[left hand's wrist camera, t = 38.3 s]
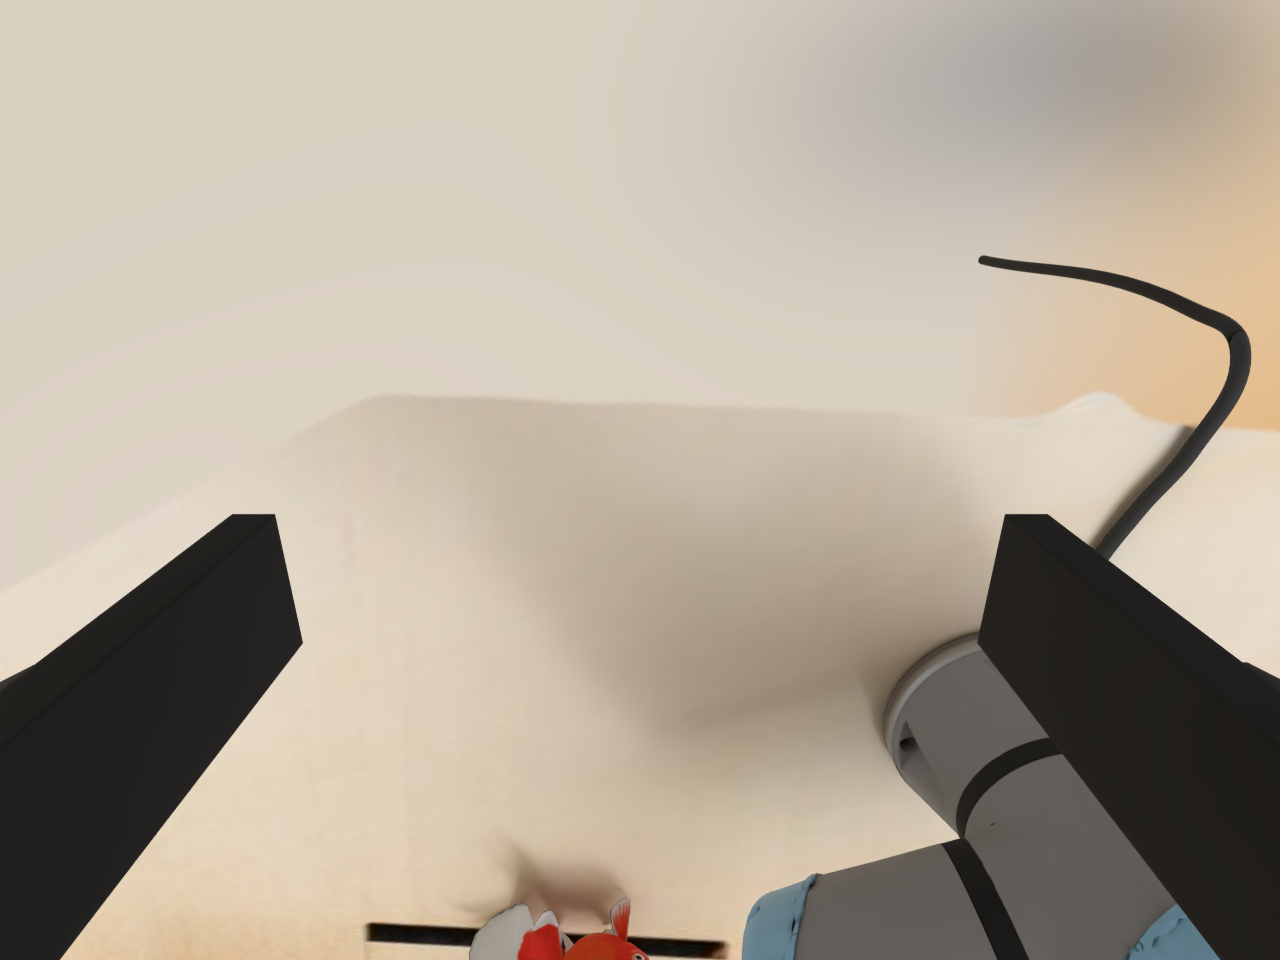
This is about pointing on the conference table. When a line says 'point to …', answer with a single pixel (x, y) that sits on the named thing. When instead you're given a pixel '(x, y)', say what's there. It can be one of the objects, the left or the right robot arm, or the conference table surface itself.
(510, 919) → the fish
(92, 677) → the left robot arm
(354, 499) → the conference table surface
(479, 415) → the conference table surface
